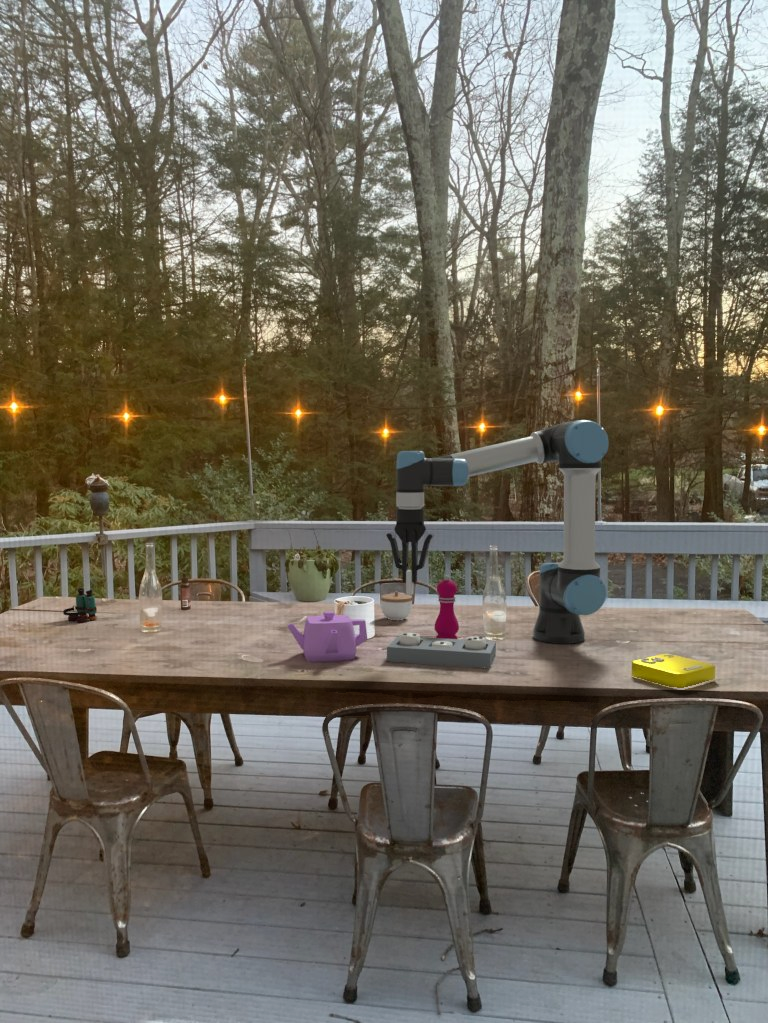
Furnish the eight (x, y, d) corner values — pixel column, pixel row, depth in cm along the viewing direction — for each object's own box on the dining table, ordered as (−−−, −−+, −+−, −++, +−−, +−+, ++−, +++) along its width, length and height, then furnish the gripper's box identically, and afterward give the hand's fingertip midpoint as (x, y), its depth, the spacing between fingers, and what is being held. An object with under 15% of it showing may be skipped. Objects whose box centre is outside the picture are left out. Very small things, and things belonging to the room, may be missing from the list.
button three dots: (486, 649, 207) (487, 635, 206) (484, 654, 201) (484, 640, 201) (466, 648, 208) (466, 634, 208) (463, 653, 203) (463, 639, 202)
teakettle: (371, 653, 213) (371, 610, 212) (334, 667, 199) (333, 620, 198) (324, 645, 222) (323, 603, 221) (285, 658, 208) (284, 613, 207)
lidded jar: (414, 616, 262) (415, 589, 262) (408, 623, 252) (408, 594, 251) (384, 615, 265) (384, 588, 264) (377, 621, 254) (377, 593, 254)
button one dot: (453, 654, 209) (454, 640, 209) (450, 659, 204) (450, 645, 203) (433, 652, 210) (433, 639, 210) (430, 658, 205) (430, 644, 205)
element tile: (680, 693, 178) (681, 673, 178) (627, 678, 190) (628, 659, 190) (718, 682, 186) (718, 663, 186) (665, 668, 199) (665, 650, 198)
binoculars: (56, 593, 253) (82, 586, 261) (60, 624, 254) (86, 615, 263) (73, 596, 248) (99, 588, 256) (77, 627, 250) (103, 618, 258)
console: (495, 655, 210) (495, 641, 210) (490, 668, 197) (490, 653, 197) (398, 649, 217) (398, 635, 216) (386, 661, 204) (386, 646, 204)
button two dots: (421, 645, 211) (421, 632, 211) (417, 650, 206) (417, 636, 205) (402, 644, 212) (402, 631, 212) (397, 649, 207) (397, 635, 207)
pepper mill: (457, 645, 222) (457, 577, 220) (432, 644, 223) (433, 576, 222) (460, 639, 229) (460, 573, 227) (436, 638, 230) (436, 572, 229)
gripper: (436, 507, 208) (435, 593, 210) (390, 506, 212) (389, 590, 213) (431, 509, 201) (430, 597, 203) (383, 508, 204) (383, 595, 206)
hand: (409, 594), depth 208 cm, fingers closed
